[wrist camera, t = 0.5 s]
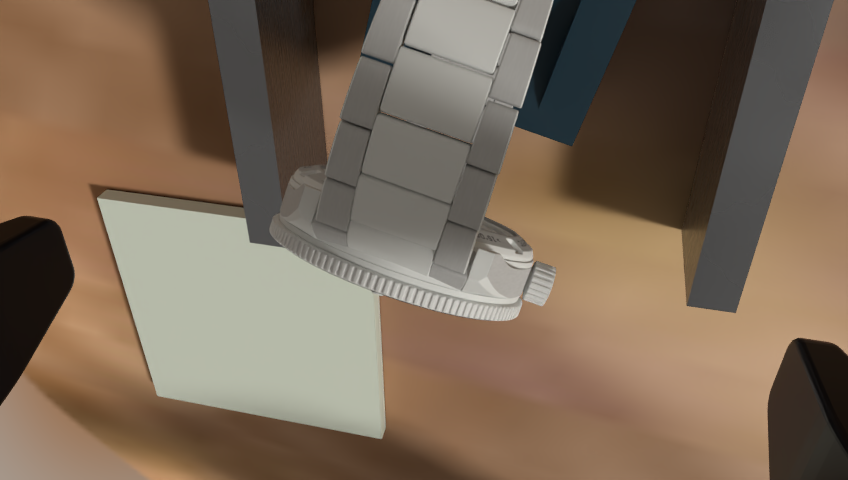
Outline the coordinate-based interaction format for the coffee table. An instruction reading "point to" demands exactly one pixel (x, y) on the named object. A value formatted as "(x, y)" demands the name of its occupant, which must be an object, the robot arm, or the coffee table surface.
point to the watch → (446, 147)
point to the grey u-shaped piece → (716, 170)
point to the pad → (245, 317)
